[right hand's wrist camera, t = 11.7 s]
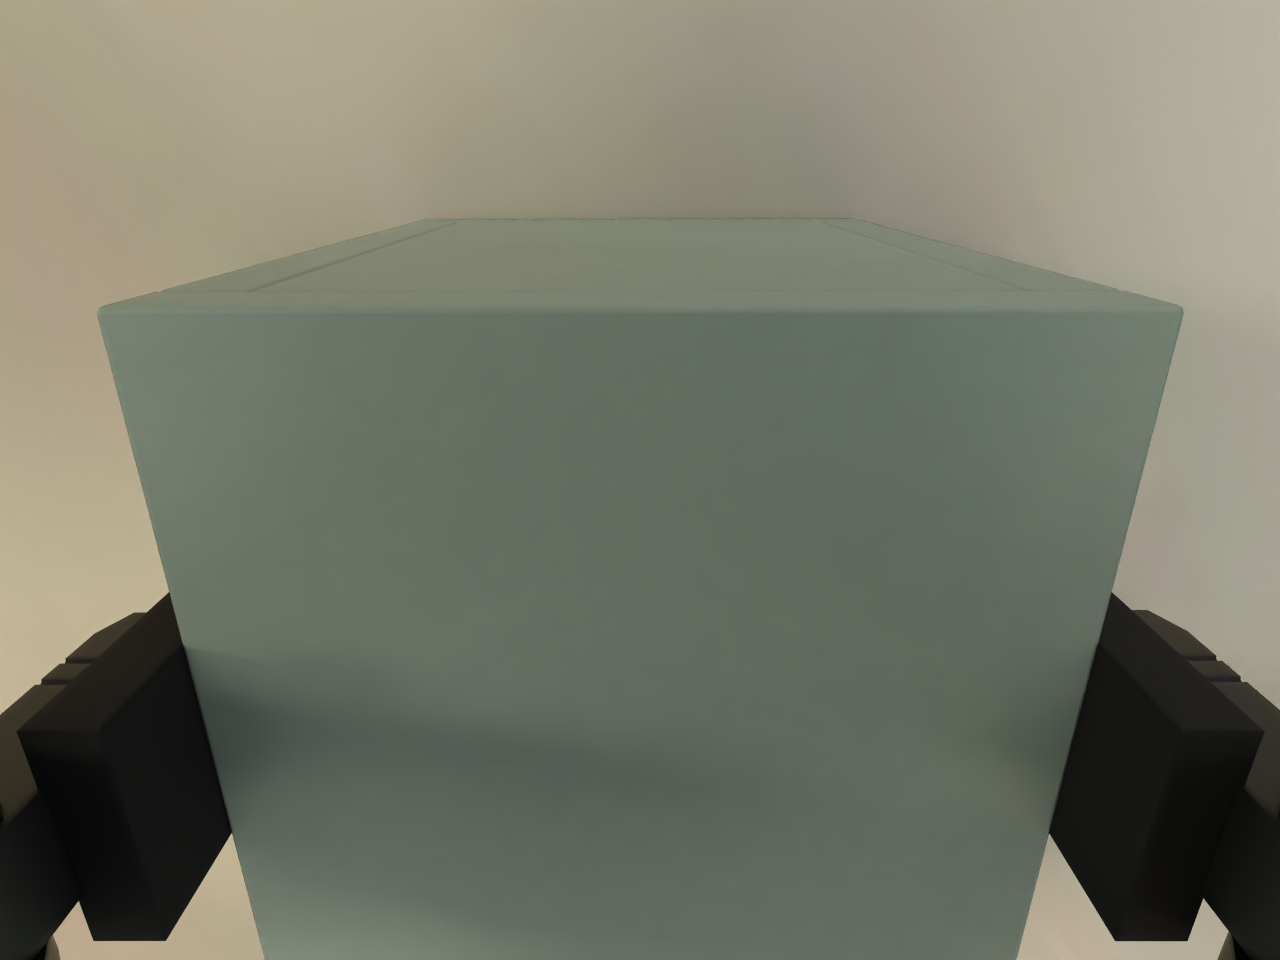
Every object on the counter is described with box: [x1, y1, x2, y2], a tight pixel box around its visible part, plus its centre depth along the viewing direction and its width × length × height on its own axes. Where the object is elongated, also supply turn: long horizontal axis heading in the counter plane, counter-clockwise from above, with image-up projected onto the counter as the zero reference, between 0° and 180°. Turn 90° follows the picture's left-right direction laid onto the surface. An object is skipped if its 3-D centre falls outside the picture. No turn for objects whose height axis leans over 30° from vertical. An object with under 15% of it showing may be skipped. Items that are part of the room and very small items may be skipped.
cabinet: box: [97, 219, 1183, 960], centre depth 16 cm, size 20×10×12 cm, turn 0°
